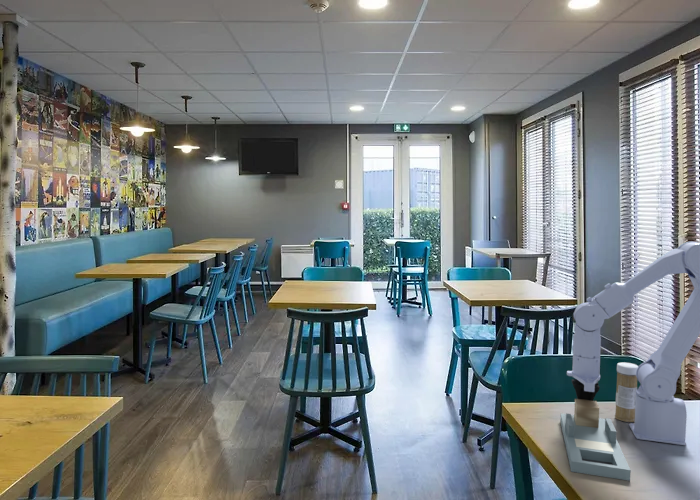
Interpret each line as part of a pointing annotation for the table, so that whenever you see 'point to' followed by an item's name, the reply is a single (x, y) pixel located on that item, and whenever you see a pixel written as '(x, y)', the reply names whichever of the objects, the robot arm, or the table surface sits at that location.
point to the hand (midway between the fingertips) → (584, 412)
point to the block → (586, 413)
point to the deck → (594, 449)
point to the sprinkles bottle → (626, 392)
